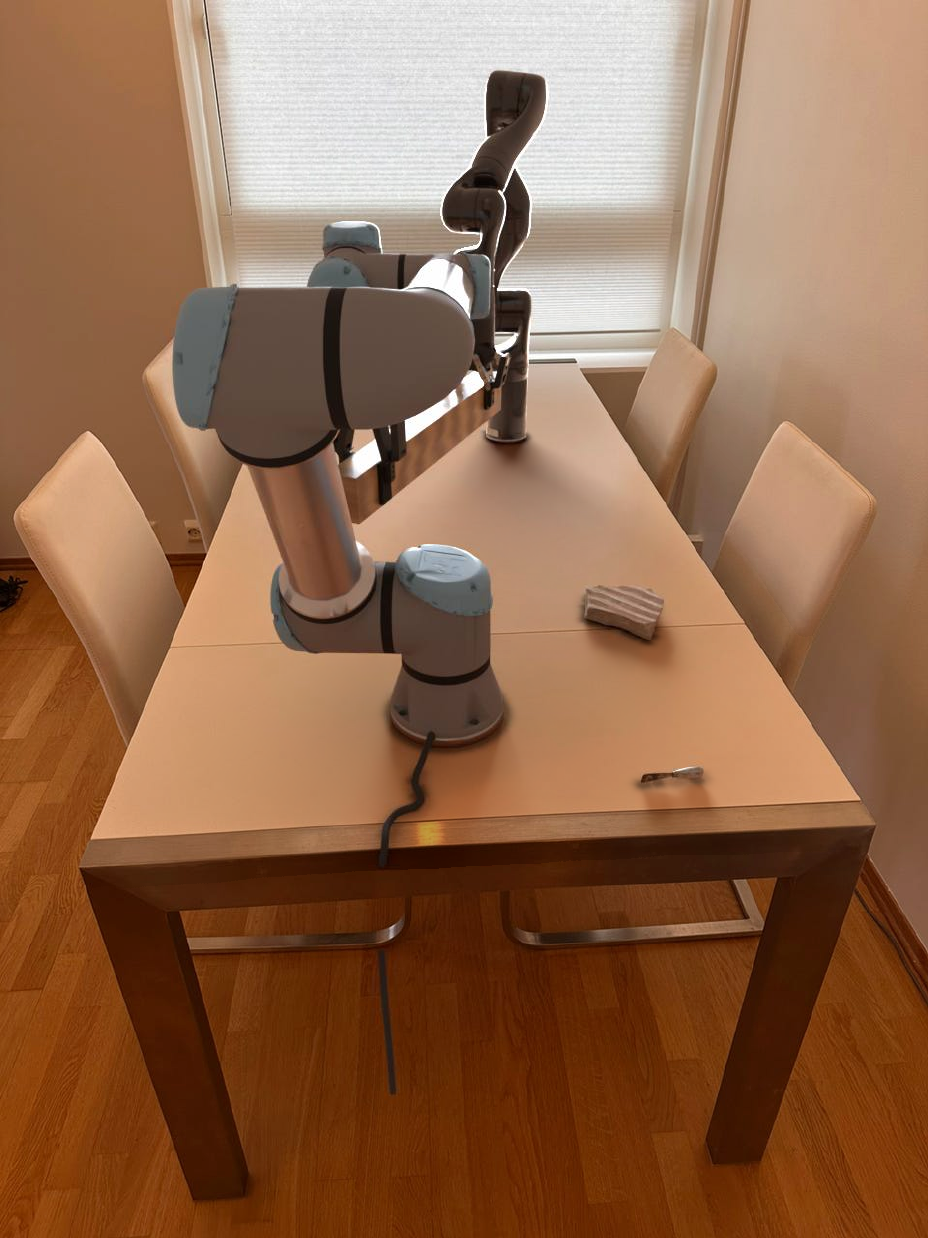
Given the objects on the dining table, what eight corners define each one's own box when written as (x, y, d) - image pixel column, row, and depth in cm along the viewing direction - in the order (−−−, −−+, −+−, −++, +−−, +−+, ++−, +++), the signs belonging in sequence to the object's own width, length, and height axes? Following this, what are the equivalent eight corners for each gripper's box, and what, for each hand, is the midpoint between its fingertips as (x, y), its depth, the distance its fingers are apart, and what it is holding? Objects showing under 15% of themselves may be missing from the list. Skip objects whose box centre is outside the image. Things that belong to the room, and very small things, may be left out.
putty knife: (703, 777, 109) (705, 767, 109) (642, 788, 108) (644, 777, 107) (700, 772, 110) (702, 762, 109) (639, 782, 109) (640, 771, 108)
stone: (668, 604, 144) (670, 590, 143) (652, 641, 135) (653, 627, 134) (591, 589, 149) (592, 576, 147) (570, 625, 139) (570, 611, 138)
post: (359, 524, 130) (355, 478, 126) (329, 518, 131) (325, 472, 128) (501, 409, 172) (501, 372, 168) (477, 406, 174) (477, 369, 170)
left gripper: (429, 343, 123) (433, 498, 136) (317, 330, 130) (331, 479, 142) (404, 358, 118) (410, 518, 130) (288, 343, 124) (305, 497, 136)
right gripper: (519, 311, 157) (517, 405, 166) (445, 304, 162) (447, 395, 171) (503, 321, 151) (501, 418, 160) (427, 313, 156) (430, 407, 165)
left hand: (369, 497), depth 136 cm, fingers closed on post, 5 cm apart
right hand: (473, 406), depth 166 cm, fingers closed on post, 5 cm apart
